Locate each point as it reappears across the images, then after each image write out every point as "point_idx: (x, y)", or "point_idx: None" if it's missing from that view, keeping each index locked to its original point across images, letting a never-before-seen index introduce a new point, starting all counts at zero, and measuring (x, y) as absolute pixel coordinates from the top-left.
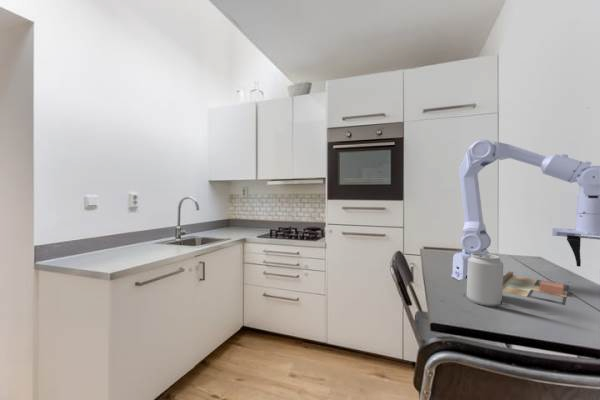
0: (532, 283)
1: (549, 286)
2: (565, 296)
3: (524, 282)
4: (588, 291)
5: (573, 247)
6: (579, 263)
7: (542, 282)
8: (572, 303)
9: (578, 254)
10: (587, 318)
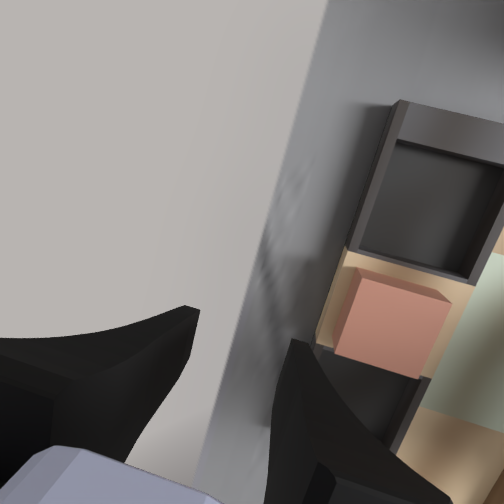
0: (428, 406)
1: (411, 289)
2: (349, 254)
3: (462, 406)
4: (218, 449)
5: (361, 434)
6: (298, 345)
7: (431, 332)
8: (322, 250)
9: (309, 382)
10: (331, 62)
